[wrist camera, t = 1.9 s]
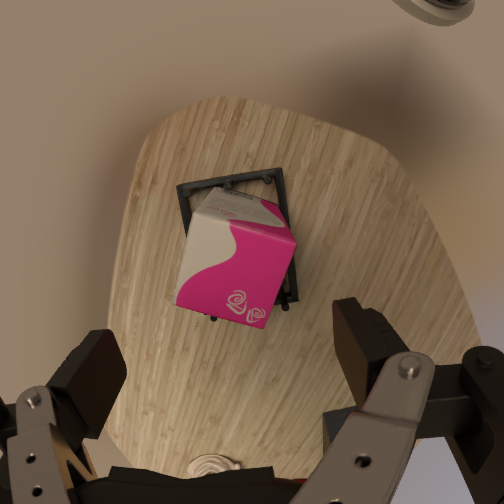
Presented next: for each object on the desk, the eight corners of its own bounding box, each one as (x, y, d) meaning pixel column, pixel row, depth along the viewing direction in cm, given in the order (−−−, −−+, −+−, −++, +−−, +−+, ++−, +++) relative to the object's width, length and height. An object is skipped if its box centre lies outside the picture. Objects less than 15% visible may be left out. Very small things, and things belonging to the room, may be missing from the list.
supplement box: (196, 247, 28) (167, 305, 17) (215, 184, 27) (192, 204, 16) (258, 266, 29) (264, 333, 18) (280, 204, 27) (301, 237, 16)
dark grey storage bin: (322, 412, 35) (331, 446, 29) (401, 393, 34) (417, 422, 29) (323, 458, 38) (329, 487, 33) (391, 441, 38) (403, 468, 32)
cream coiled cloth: (195, 472, 40) (190, 497, 36) (182, 451, 37) (175, 479, 33) (245, 473, 39) (243, 499, 35) (238, 453, 37) (235, 482, 32)
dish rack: (178, 184, 27) (167, 189, 23) (280, 167, 26) (285, 169, 23) (205, 309, 30) (200, 330, 26) (297, 296, 30) (303, 316, 26)
